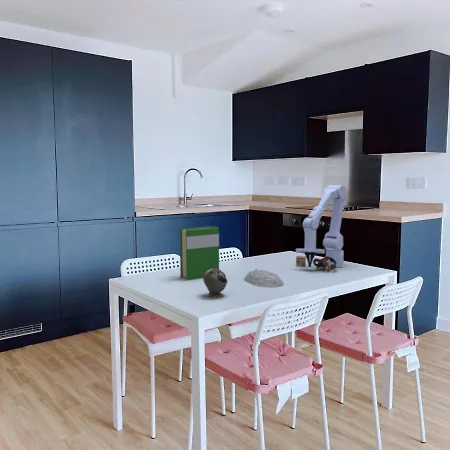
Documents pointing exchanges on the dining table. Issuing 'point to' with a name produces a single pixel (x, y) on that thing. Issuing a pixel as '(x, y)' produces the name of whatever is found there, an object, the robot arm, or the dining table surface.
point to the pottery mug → (325, 263)
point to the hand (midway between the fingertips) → (309, 266)
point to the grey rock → (263, 279)
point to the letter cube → (300, 261)
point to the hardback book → (198, 251)
